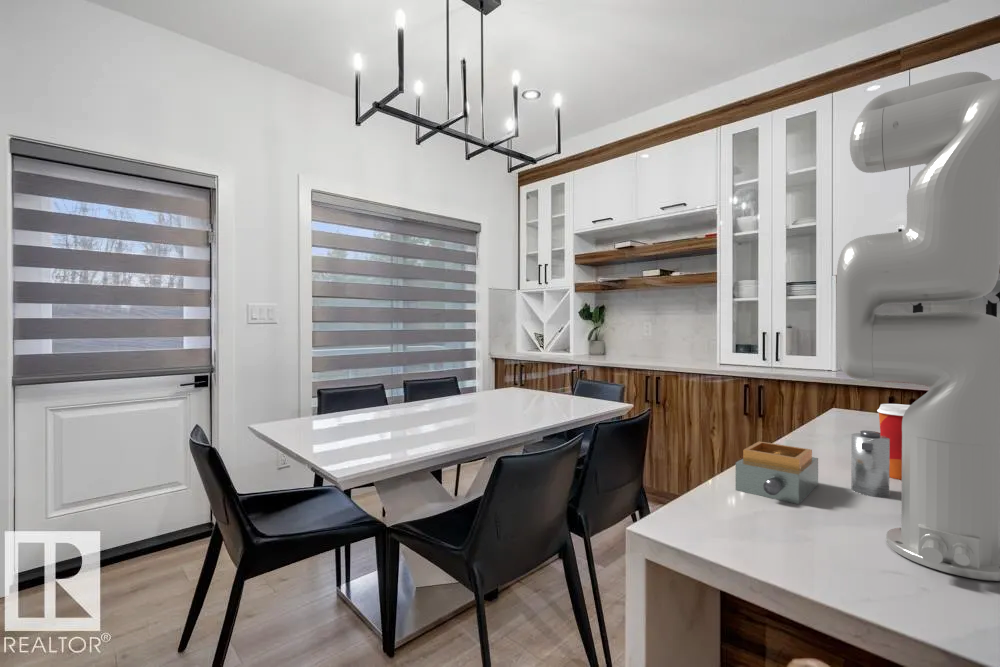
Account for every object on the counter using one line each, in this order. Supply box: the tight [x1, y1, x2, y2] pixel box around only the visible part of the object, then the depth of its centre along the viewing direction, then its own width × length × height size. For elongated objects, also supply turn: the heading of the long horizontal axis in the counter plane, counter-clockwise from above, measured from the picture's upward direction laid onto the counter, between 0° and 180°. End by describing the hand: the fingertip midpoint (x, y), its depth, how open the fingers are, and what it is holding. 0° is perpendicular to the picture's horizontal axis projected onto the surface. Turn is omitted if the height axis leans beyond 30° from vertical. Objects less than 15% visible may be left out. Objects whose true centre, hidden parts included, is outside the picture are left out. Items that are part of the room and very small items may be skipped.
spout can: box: [850, 430, 890, 498], centre depth 84 cm, size 7×5×11 cm
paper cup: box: [876, 403, 911, 481], centre depth 93 cm, size 8×8×14 cm
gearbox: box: [735, 441, 819, 505], centre depth 87 cm, size 16×10×7 cm, turn 135°
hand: (953, 324), depth 92 cm, fingers open, 9 cm apart
